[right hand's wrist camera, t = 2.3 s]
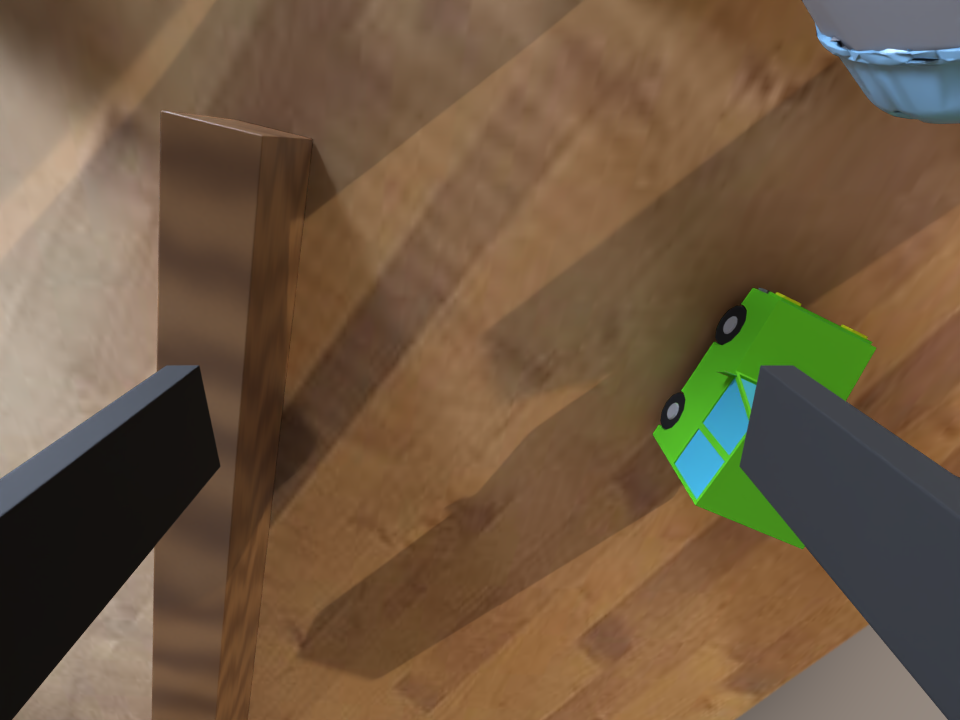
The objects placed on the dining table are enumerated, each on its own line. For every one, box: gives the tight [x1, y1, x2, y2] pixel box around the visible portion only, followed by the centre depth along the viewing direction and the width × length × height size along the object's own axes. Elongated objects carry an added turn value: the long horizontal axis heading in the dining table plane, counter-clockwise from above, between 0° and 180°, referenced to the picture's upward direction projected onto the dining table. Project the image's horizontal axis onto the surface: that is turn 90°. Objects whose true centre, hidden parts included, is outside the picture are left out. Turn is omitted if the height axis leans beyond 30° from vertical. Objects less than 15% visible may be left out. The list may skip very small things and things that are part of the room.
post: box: [152, 110, 313, 720], centre depth 43 cm, size 73×5×9 cm, turn 167°
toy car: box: [653, 287, 876, 549], centre depth 36 cm, size 10×13×10 cm
